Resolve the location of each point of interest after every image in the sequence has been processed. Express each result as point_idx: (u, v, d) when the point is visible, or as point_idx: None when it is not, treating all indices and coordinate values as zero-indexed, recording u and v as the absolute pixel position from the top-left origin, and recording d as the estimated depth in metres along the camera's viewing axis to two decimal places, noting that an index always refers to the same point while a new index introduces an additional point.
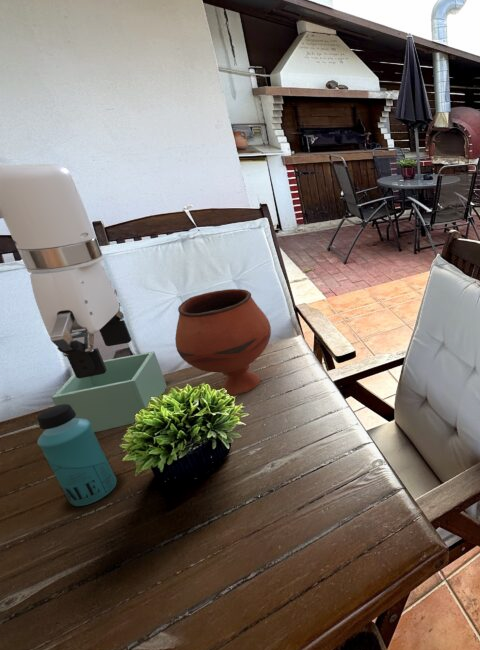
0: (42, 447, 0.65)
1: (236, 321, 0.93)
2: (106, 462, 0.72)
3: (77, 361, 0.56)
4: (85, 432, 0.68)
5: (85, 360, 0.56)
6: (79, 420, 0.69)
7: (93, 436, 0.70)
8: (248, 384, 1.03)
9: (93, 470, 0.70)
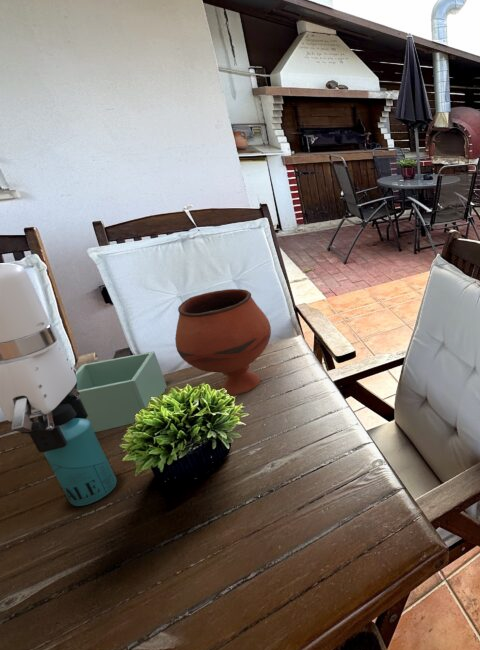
0: None
1: (236, 321, 0.93)
2: (106, 462, 0.72)
3: (39, 438, 0.63)
4: (85, 431, 0.68)
5: (46, 437, 0.63)
6: (79, 420, 0.69)
7: (93, 436, 0.70)
8: (248, 384, 1.03)
9: (94, 470, 0.70)
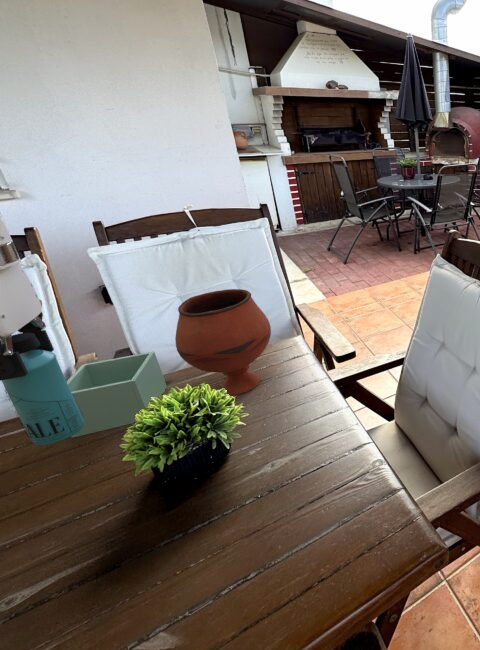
0: None
1: (236, 321, 0.93)
2: (73, 400, 0.68)
3: None
4: (49, 363, 0.64)
5: (4, 363, 0.58)
6: (43, 351, 0.64)
7: (59, 370, 0.65)
8: (248, 384, 1.03)
9: (58, 406, 0.65)
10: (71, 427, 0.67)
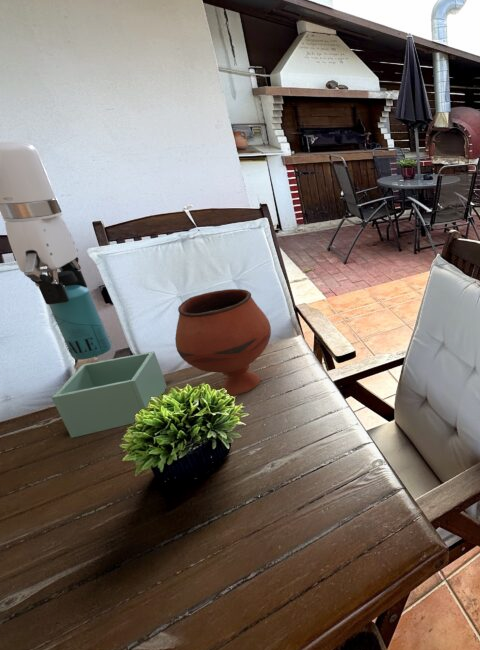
0: None
1: (236, 321, 0.93)
2: (102, 327, 0.86)
3: (46, 290, 0.77)
4: (85, 295, 0.82)
5: (52, 290, 0.77)
6: (80, 286, 0.83)
7: (91, 301, 0.84)
8: (248, 384, 1.03)
9: (91, 329, 0.84)
10: (101, 347, 0.86)
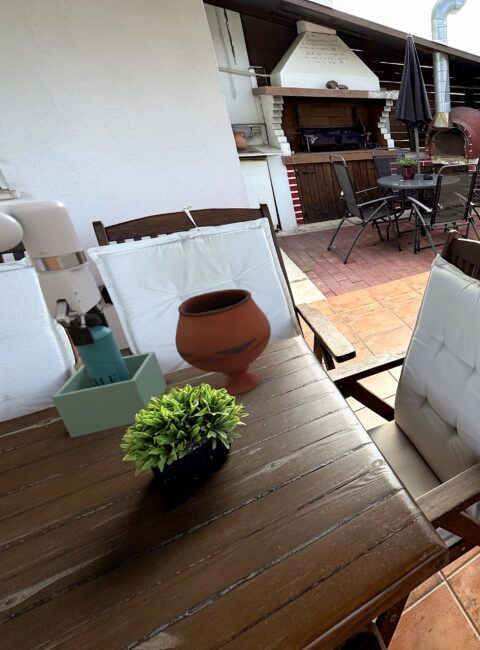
0: None
1: (236, 321, 0.93)
2: (124, 363, 0.93)
3: (74, 334, 0.84)
4: (108, 335, 0.89)
5: (80, 334, 0.84)
6: (103, 327, 0.90)
7: (114, 340, 0.91)
8: (248, 384, 1.03)
9: (114, 366, 0.91)
10: None
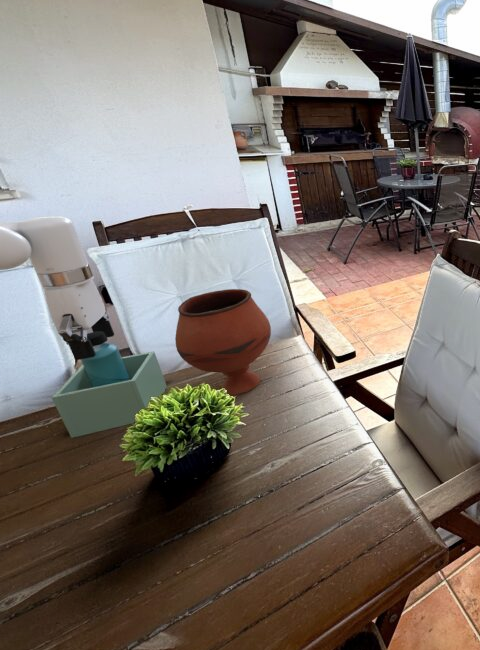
0: (83, 361, 0.87)
1: (236, 321, 0.93)
2: (129, 379, 0.95)
3: (75, 348, 0.83)
4: (114, 352, 0.91)
5: (81, 347, 0.84)
6: (109, 344, 0.91)
7: (120, 357, 0.92)
8: (248, 384, 1.03)
9: None
10: None
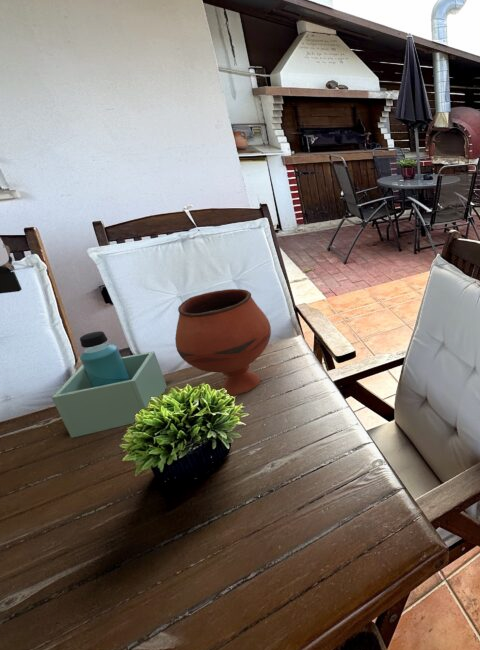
0: (83, 361, 0.87)
1: (236, 321, 0.93)
2: (129, 379, 0.95)
3: None
4: (114, 352, 0.91)
5: None
6: (109, 344, 0.91)
7: (120, 357, 0.92)
8: (248, 384, 1.03)
9: None
10: None
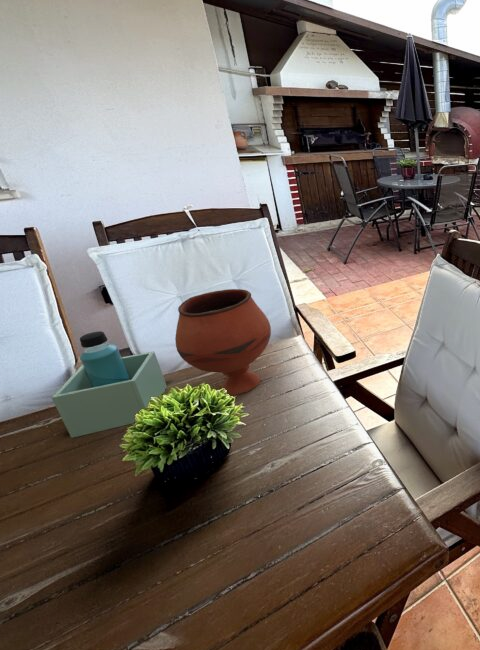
0: (83, 361, 0.87)
1: (236, 321, 0.93)
2: (129, 379, 0.95)
3: None
4: (114, 352, 0.91)
5: None
6: (109, 344, 0.91)
7: (120, 357, 0.92)
8: (248, 384, 1.03)
9: None
10: None
